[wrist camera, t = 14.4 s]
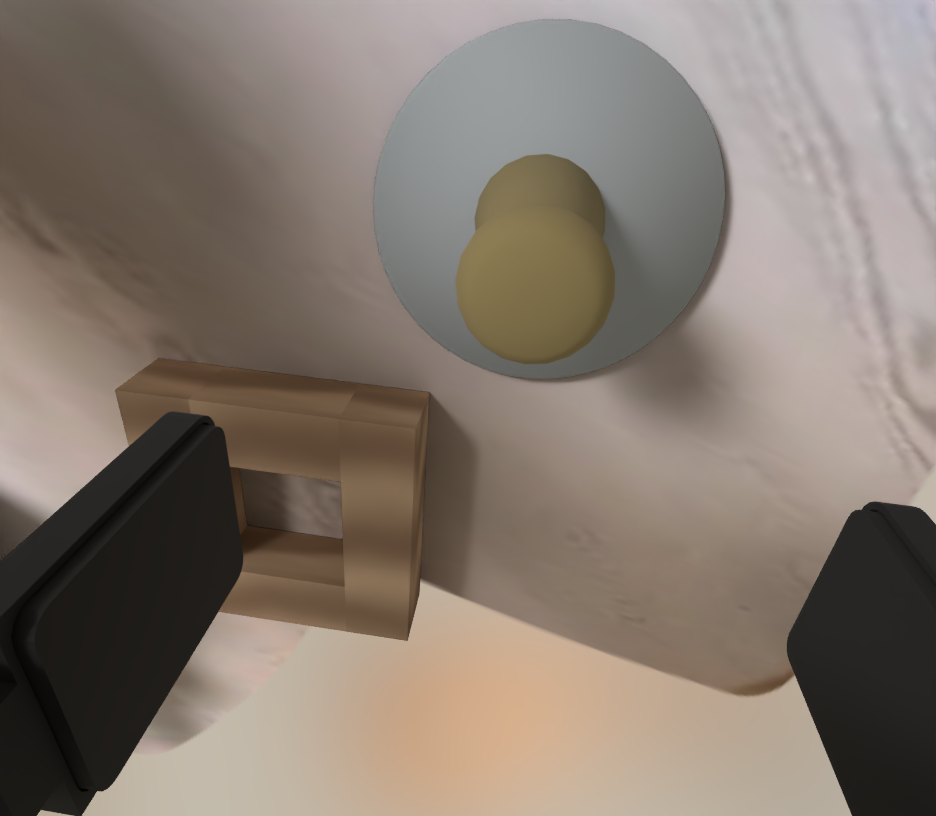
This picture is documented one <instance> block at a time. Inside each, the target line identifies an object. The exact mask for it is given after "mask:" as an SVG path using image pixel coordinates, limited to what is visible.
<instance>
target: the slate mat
mask: <svg viewBox="0 0 936 816" xmlns="http://www.w3.org/2000/svg"><path fill="white" fill-rule="evenodd" d="M540 154H550V155H554V156H558V157H562V158H565V159H569V160H570V161H572V162H573V163H575V164H576V165H578V166H579V167H581V168H582V169H583V170H585V171H586V172H587V173H588V174H589V176H590V177H591V179H592V180H593V181H594V183H595V184H596V185H597V187H598V188H599V191H600V194H601V197H602V201H603V204H604V207H605V231H604V235H603V240H604V242H605V243H606V245H607V247H608V250H609V253H610V257H611V260H612V263H613V266H614V269H615V298H614V300H613V303H612V306H611V308H610V311H609V314H608V316H607V319H606V321H605V323H604V325H603V326H602V328H601V329H600V330H599V331H598V333H597V334H596V335H595V336H594V338H593V339H592V340H591V342H590V343H589V344H587V345H586V346H584V347H583V348H581V349H580V350H579V351H577V352H576V353H574V354H573V355H571V356H570V357H567V358H564V359H561V360H557V361H554V362H551V363H548V364H522V363H518V362H514V361H510V360H507V359H503V358H501V357H499V356H498V355H496V354H495V353H493V352H491V351H490V350H488V349H486V348H485V347H483V346H482V345H481V344H480V342H479V341H478V340H477V339H476V338H475V337H474V336H473V334H472V333H471V332H470V331H469V330H468V328H467V326H466V323H465V321H464V319H463V317H462V314H461V312H460V310H459V307H458V303H457V293H456V283H455V279H456V275H457V270H458V266H459V262H460V257H461V255H462V253H463V251H464V250H465V248H466V246H467V245H468V243H469V242H470V240H471V238H472V237H473V235H474V233H475V232H476V231H475V219H474V217H475V213H476V209H477V204H478V200H479V197H480V195H481V193H482V191H483V190H484V188H485V186H486V185H487V183H488V181H489V180H490V178H491V177H492V176H494V175H495V174H496V173H497V172H498V171H499V170H500V169H501V168H503V167H504V166H505V165H506V164H508V163H510V162H513V161H515V160H517V159H519V158H522V157H524V156H527V155H540ZM724 201H725V185H724V169H723V164H722V158H721V153H720V148H719V144H718V141H717V138H716V135H715V132H714V129H713V126H712V124H711V121H710V119H709V117H708V115H707V113H706V111H705V109H704V107H703V105H702V103H701V102H700V100H699V98H698V97H697V95H696V94H695V92H694V91H693V90H692V88H691V87H690V86H689V84H688V83H687V81H686V80H685V79H684V77H683V76H682V75H681V74H680V73H679V72H678V71H677V70H676V69H675V68H674V67H673V66H672V65H671V64H670V63H669V62H668V61H667V60H666V59H664V58H663V57H662V56H660V55H659V54H658V53H656V52H655V51H654V50H652V49H651V48H649V47H648V46H647V45H645V44H644V43H642V42H640V41H638V40H636V39H634V38H632V37H630V36H628V35H626V34H624V33H622V32H620V31H617V30H614V29H611V28H608V27H605V26H602V25H599V24H596V23H589V22H583V21H577V20H571V19H542V20H535V21H529V22H522V23H516V24H513V25H510V26H507V27H503V28H500V29H497V30H494V31H491V32H489V33H487V34H485V35H483V36H480V37H478V38H476V39H474V40H472V41H470V42H468V43H467V44H465V45H464V46H462V47H461V48H459V49H458V50H456V51H455V52H453V53H452V54H450V55H449V56H447V57H446V58H445V59H444V60H442V61H441V62H440V63H439V64H438V65H437V66H436V67H435V68H433V69H432V70H431V71H430V72H429V73H428V74H427V75H426V76H425V77H424V78H423V80H422V81H421V82H420V83H419V84H418V85H417V87H416V88H415V89H414V90H413V91H412V93H411V94H410V95H409V97H408V98H407V100H406V101H405V103H404V105H403V106H402V108H401V109H400V111H399V112H398V114H397V116H396V118H395V120H394V122H393V124H392V126H391V128H390V130H389V133H388V135H387V137H386V140H385V143H384V146H383V149H382V152H381V155H380V158H379V162H378V168H377V173H376V178H375V184H374V201H373V212H374V227H375V234H376V239H377V244H378V250H379V253H380V256H381V259H382V263H383V266H384V269H385V272H386V274H387V276H388V278H389V280H390V283H391V285H392V287H393V289H394V291H395V293H396V294H397V296H398V298H399V299H400V301H401V302H402V304H403V306H404V307H405V309H406V310H407V311H408V312H409V314H410V315H411V316H412V317H413V319H414V320H415V321H416V322H417V324H418V325H419V326H420V327H421V328H422V329H423V330H424V331H425V332H426V333H427V334H428V335H429V336H430V337H431V338H433V339H434V340H435V341H436V342H438V343H439V344H440V345H442V346H443V347H444V348H446V349H447V350H448V351H450V352H452V353H453V354H455V355H457V356H458V357H460V358H462V359H463V360H465V361H467V362H470V363H472V364H474V365H476V366H479V367H481V368H483V369H486V370H490V371H493V372H496V373H499V374H503V375H508V376H514V377H519V378H532V379H553V378H565V377H570V376H576V375H582V374H585V373H589V372H592V371H595V370H599V369H602V368H604V367H607V366H609V365H611V364H614V363H616V362H618V361H621V360H622V359H624V358H626V357H628V356H629V355H631V354H633V353H635V352H637V351H638V350H640V349H641V348H642V347H644V346H645V345H647V344H648V343H649V342H651V341H652V340H653V339H655V338H656V337H657V336H658V335H659V334H660V333H662V332H663V331H664V330H665V329H666V328H667V327H668V326H669V325H670V324H671V323H672V322H673V321H674V320H675V319H676V318H677V316H678V315H679V314H680V313H681V312H682V310H683V309H684V308H685V307H686V306H687V304H688V303H689V301H690V300H691V298H692V297H693V295H694V294H695V292H696V291H697V289H698V288H699V286H700V284H701V282H702V280H703V278H704V276H705V274H706V272H707V270H708V268H709V266H710V264H711V261H712V258H713V255H714V253H715V250H716V247H717V244H718V240H719V235H720V231H721V226H722V222H723V213H724Z"/></svg>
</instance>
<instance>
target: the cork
mask: <svg viewBox="0 0 936 816" xmlns="http://www.w3.org/2000/svg"><path fill="white" fill-rule="evenodd" d="M474 219H475V231H476V232H475V233H474V235H473V237H472V238H471V240H470V242H469V243H468V245H467V246H466V248H465V250H464V251H463V253H462V255H461V257H460V262H459V266H458V270H457V275H456V279H455V283H456V293H457V303H458V307H459V310H460V312H461V314H462V317H463V319H464V321H465V323H466V326H467V328H468V330H469V331H470V332H471V333H472V334H473V336H474V337H475V338H476V339H477V340H478V341H479V342H480V344H481V345H482V346H483V347H485V348H486V349H488V350H490V351H491V352H493V353H495V354H496V355H498V356H499V357H501V358H503V359H507V360H510V361H514V362H518V363H522V364H548V363H551V362H554V361H557V360H561V359H564V358H567V357H570V356H571V355H573V354H574V353H576V352H577V351H579V350H580V349H581V348H583V347H584V346H586V345H587V344H589V343H590V342H591V340H592V339H593V338H594V336H595V335H596V334H597V333H598V331H599V330H600V329H601V328H602V326H603V325H604V323H605V321H606V319H607V316H608V314H609V311H610V308H611V306H612V303H613V300H614V298H615V269H614V266H613V263H612V260H611V257H610V253H609V250H608V247H607V245H606V243H605V242H604V240H603V235H604V231H605V207H604V204H603V201H602V197H601V194H600V191H599V188H598V187H597V185H596V184H595V183H594V181H593V180H592V179H591V177H590V176H589V174H588V173H587V172H586V171H585V170H583V169H582V168H581V167H579V166H578V165H576V164H575V163H573V162H572V161H570V160H569V159H565V158H562V157H558V156H554V155H550V154H540V155H527V156H524V157H522V158H519V159H517V160H515V161H513V162H510V163H508V164H506V165H505V166H504V167H503V168H501V169H500V170H499V171H498V172H497V173H496V174H495V175H494V176H492V177H491V178H490V180H489V181H488V183H487V185H486V186H485V188H484V190H483V191H482V193H481V195H480V197H479V200H478V204H477V209H476V213H475V217H474Z"/></svg>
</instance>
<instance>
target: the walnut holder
mask: <svg viewBox="0 0 936 816" xmlns="http://www.w3.org/2000/svg"><path fill="white" fill-rule="evenodd" d="M115 392H116V396H117V400H118V404H119V408H120V412H121V416H122V420H123V424H124V428H125V432H126V436H127V440H128V444H129V446H130V445H131V444H132V443H133V442H134V441H136V440H137V439H138V438H139V437H140V436H141V435H142V434H143V433H144V432H146V431H147V430H148V429H149V428H150V427H151V426H152V425H153V424H154V423H156V422H157V421H158V420H159V419H160V418H161V417H162V416H163V415H165V414H166V413H168V412H172V411H175V412H183V413H191V414H199V415H207V416H209V417H211V418H212V420H213V421H214V424H215V426H218V427H221V428H222V429H223V431H224V434H225V439H226V445H227V452H228V458H229V465H230V471H231V478H232V484H233V491H234V498H235V504H236V511H237V517H238V524H239V530H240V537H241V543H242V550H243V566H242V571H241V573H240V576H239V578H238V580H237V582H236V584H235V585H234V587H233V588H232V590H231V592H230V593H229V595H228V597H227V598H226V600H225V602H224V603H223V605H222V606H221V608H220V610H219V611H218V612H224V613H230V614H237V615H243V616H250V617H256V618H263V619H269V620H276V621H282V622H289V623H295V624H302V625H308V626H315V627H321V628H328V629H334V630H341V631H347V632H354V633H360V634H367V635H374V636H380V637H387V638H393V639H399V640H406V641H407V640H408V637H409V633H410V628H411V625H412V621H413V617H414V613H415V609H416V605H417V601H418V597H419V590H420V572H421V552H422V532H423V512H424V492H425V472H426V452H427V431H428V411H429V392H423V391H415V390H407V389H399V388H391V387H383V386H375V385H368V384H360V383H352V382H344V381H336V380H328V379H320V378H312V377H304V376H296V375H288V374H280V373H272V372H264V371H256V370H248V369H240V368H232V367H224V366H216V365H208V364H200V363H192V362H184V361H176V360H168V359H160V358H158V359H157V360H155V361H154V362H153V363H151V364H150V365H149V366H147V367H146V368H144V369H143V370H142V371H140V372H139V373H138V374H136V375H135V376H134V377H132V378H131V379H129V380H128V381H127V382H125V383H124V384H123V385H121V386H120V387H118V388H117V389H116V390H115ZM239 468H243V469H250V470H258V471H265V472H272V473H279V474H287V475H294V476H301V477H309V478H316V479H323V480H331V481H338V482H341V500H342V526H343V539H336V538H329V537H322V536H315V535H308V534H301V533H294V532H287V531H280V530H273V529H266V528H259V527H252V526H247V522H246V515H245V508H244V500H243V493H242V486H241V479H240V472H239Z"/></svg>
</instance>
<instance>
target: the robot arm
mask: <svg viewBox="0 0 936 816" xmlns="http://www.w3.org/2000/svg"><path fill="white" fill-rule="evenodd" d="M242 566H243V550H242V543H241V537H240V530H239V524H238V517H237V511H236V504H235V498H234V491H233V484H232V478H231V471H230V465H229V458H228V452H227V445H226V439H225V434H224V431H223V429H222V428H221V427H218V426H215V424H214V421H213V420H212V418H211V417H209V416H207V415H199V414H191V413H183V412H175V411H172V412H168V413H166V414H165V415H163V416H162V417H161V418H160V419H159V420H158V421H157V422H156V423H154V424H153V425H152V426H151V427H150V428H149V429H148V430H147V431H146V432H144V433H143V434H142V435H141V436H140V437H139V438H138V439H137V440H136V441H134V442H133V443H132V444H131V445H130V446H129V447H128V448H127V449H125V450H124V451H123V452H122V453H121V454H120V455H119V456H118V457H117V458H115V459H114V460H113V461H112V462H111V463H110V464H109V465H108V466H107V467H105V468H104V469H103V470H102V471H101V472H100V473H99V474H98V475H96V476H95V477H94V478H93V479H92V480H91V481H90V482H89V483H88V484H86V485H85V486H84V487H83V488H82V489H81V490H80V491H79V492H78V493H76V494H75V495H74V496H73V497H72V498H71V499H70V500H69V501H68V502H66V503H65V504H64V505H63V506H62V507H61V508H60V509H59V510H57V511H56V512H55V513H54V514H53V515H52V516H51V517H50V518H49V519H47V520H46V521H45V522H44V523H43V524H42V525H41V526H40V527H39V528H37V529H36V530H35V531H34V532H33V533H32V534H31V535H30V536H28V537H27V538H26V539H25V540H24V541H23V542H22V543H21V544H20V545H18V546H17V547H16V548H15V549H14V550H13V551H12V552H11V553H10V554H8V555H7V556H6V557H5V558H4V559H3V560H2V561H1V562H0V816H37V814H38V813H39V812H40V810H45V811H51V812H57V813H62V814H68V815H74V816H82V814H83V813H84V811H85V809H86V808H87V806H88V805H89V803H90V802H91V800H92V798H93V797H94V795H95V793H96V792H97V791H104V790H106V789H108V788H109V787H110V786H111V785H112V784H113V782H114V781H115V780H116V778H117V776H118V775H119V773H120V772H121V770H122V769H123V767H124V766H125V764H126V762H127V761H128V759H129V757H130V756H131V754H132V752H133V751H134V749H135V747H136V746H137V744H138V743H139V741H140V739H141V738H142V736H143V734H144V733H145V731H146V729H147V728H148V726H149V725H150V723H151V721H152V720H153V718H154V716H155V715H156V713H157V711H158V710H159V708H160V706H161V705H162V703H163V702H164V700H165V698H166V697H167V695H168V693H169V692H170V690H171V688H172V687H173V685H174V684H175V682H176V680H177V679H178V677H179V675H180V674H181V672H182V670H183V669H184V667H185V666H186V664H187V662H188V661H189V659H190V657H191V656H192V654H193V652H194V651H195V649H196V647H197V646H198V644H199V643H200V641H201V639H202V638H203V636H204V634H205V633H206V631H207V629H208V628H209V626H210V625H211V623H212V621H213V620H214V618H215V616H216V615H217V613H218V611H219V610H220V608H221V606H222V605H223V603H224V602H225V600H226V598H227V597H228V595H229V593H230V592H231V590H232V588H233V587H234V585H235V584H236V582H237V580H238V578H239V576H240V573H241V571H242ZM787 653H788V658H789V661H790V664H791V666H792V669H793V671H794V674H795V676H796V679H797V681H798V684H799V686H800V689H801V691H802V693H803V696H804V698H805V701H806V703H807V706H808V708H809V711H810V713H811V716H812V718H813V721H814V723H815V725H816V728H817V730H818V733H819V735H820V738H821V740H822V743H823V745H824V748H825V750H826V753H827V755H828V757H829V760H830V762H831V765H832V767H833V770H834V772H835V775H836V777H837V780H838V782H839V785H840V787H841V789H842V791H843V794H844V797H845V799H846V802H847V804H848V807H849V809H850V812H851V814H852V816H936V524H935V523H934V522H933V521H932V520H931V519H930V517H929V516H928V515H927V514H926V513H925V512H923V510H921V509H920V508H917V507H913V506H906V505H898V504H890V503H882V502H870V503H868V504H867V505H865V506H864V507H863V509H862V510H855V511H854V512H852V513H851V514H850V516H849V517H848V519H847V521H846V523H845V525H844V527H843V529H842V531H841V533H840V535H839V537H838V539H837V541H836V543H835V545H834V547H833V549H832V551H831V552H830V554H829V556H828V558H827V560H826V562H825V564H824V566H823V568H822V570H821V572H820V574H819V576H818V578H817V580H816V582H815V584H814V586H813V588H812V590H811V592H810V594H809V596H808V598H807V600H806V602H805V604H804V606H803V608H802V610H801V612H800V613H799V615H798V617H797V619H796V621H795V623H794V625H793V627H792V629H791V631H790V633H789V636H788V640H787Z"/></svg>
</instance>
